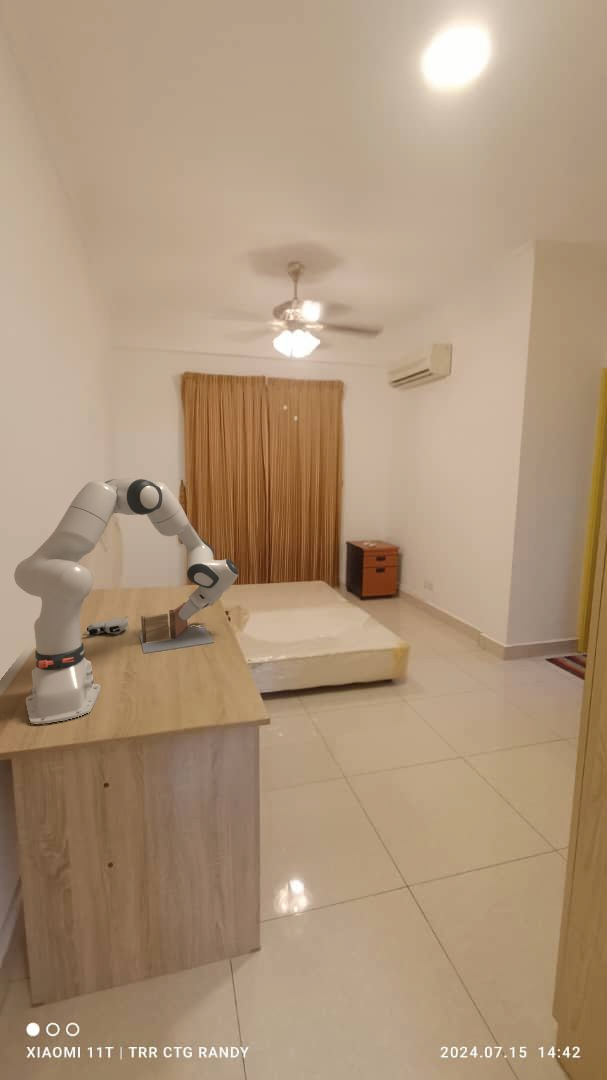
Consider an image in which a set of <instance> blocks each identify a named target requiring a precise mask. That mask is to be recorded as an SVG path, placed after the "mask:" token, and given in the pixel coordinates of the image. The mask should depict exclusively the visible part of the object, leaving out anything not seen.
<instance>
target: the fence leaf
mask: <svg viewBox="0 0 607 1080" xmlns="http://www.w3.org/2000/svg"><path fill="white" fill-rule="evenodd" d="M186 602H187V601H186ZM186 602H183V603H182V604H181V605H179V606H178V607H175V608H174V609H173V610H174V624H175V636H177V635H178V634H180V633H181V632H182V631H183V630H184V629H186V628H188V619H187V620H185V621H183V620H182V619H181V618H180V617H179V616H178V613H179V611H180V610H181V608H182V607H183V606H184V605H185V603H186Z"/></svg>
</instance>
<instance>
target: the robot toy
mask: <svg viewBox="0 0 607 1080" xmlns="http://www.w3.org/2000/svg"><path fill="white" fill-rule="evenodd" d="M128 618H129V616H124V617H123V616H120V617H115V618H111V619H109V620H107V621H106V622H105V621H96V622H93V623H91V624H89V625H88V626H87V627H86V631H85V632H84V635H85V636H88V635H90V636H92V635H95V636H96V635H100V634H104V633H105V632H106V633H108V634H113V635H119V634H120V633H121V632H124V631H125V630H126V629H127V628H128V627H129V621H128Z"/></svg>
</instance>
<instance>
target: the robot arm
mask: <svg viewBox="0 0 607 1080" xmlns="http://www.w3.org/2000/svg"><path fill="white" fill-rule="evenodd" d="M114 514H123V515H126V516H127V515H128V516H134V515H135V516H137V515H140V516H144V515H146V516H147V517H148V519H149V521H150V522H151V524H152V525H153V527H154V528H155V530H157V532H158V533H160V534H161V536H164V537H174V536H177V537H178V538H179V539H180V541H181V542H182V544H183V546H185V548H186V554H187V555H186V556H187V557H186V558H187V560H186V561H187V562H186V575H187V576H186V577H187V580H189V582H191V583H193V584H194V585H196V586H197V588H196V589H195V590H194V591H193V592H192V593H191V594H190V595H189V596H188V600H187V601H186V603H185V602H184V603H185V605H184V606H183V607H182V608H181V610H180V611H179V613H178V616H179V617H180V618H181V619H182V620H183V621H185V620H187V621H188V619H190V618H191V617H192V616H194V615H196V614H197V613H198V612H200V611H201V610H203V609H205V608H207V607H213V606H214V605H215V603H217V602H218V601H219V599H221V597H222V596H223V594H224V593H225V592H226V591H228V590H229V589H230V588H231V587H232V586H233V584H234V583H235V581H236V580H237V578H238V577H239V570H238V567H237V565H236V564H235V562H234V561H232V560H231V559H230V558H226V559H221V560H219V559H217V560H216V559H215V550H214V548H213V547H212V545H210V544H209V543H208V542H206V541H205V540H204V539H202V537H201V536H200V535H199V534H198V532H197V531H196V528H194V525H193V524H192V523H191V522H190V520H189V518H188V517H187V514H186V512H185V510H184V509H183V507H182V505H181V503H180V501H179V500H178V499H177V497H176V496H175V494H174V493H173V492H172V491H171V489H170V488H169V487H168V486H167V485H166V484H165V483H164V482H162V481H158V480H157V481H150V480H147V479H142V478H139V479H137V478H127V477H126V478H125V477H124V478H119V479H118V478H115V479H114V478H112V479H109V480H107V481H105V482H104V481H101V480H92V481H89V482H87V483H86V484H85V485H84V486H83V487H82V488H81V489H80V491H79V492H78V493H77V494H76V496H75V497H74V498H73V500H72V502H70V505H69V506H68V508H67V509H66V511H65V513H64V514H63V517H62V518H61V520H60V521H59V523H58V524H57V526H56V527H55V529H54V530H53V532H52V533H51V535H50V536H49V537H48V538H47V539H46V540H45V541H44V542H43V543H42V544H41V545H40V546H39V548H38V549H36V550H35V552H33V553H32V554H31V555H30V556H28V557H27V558H25V559H23V560H22V561H20V562H19V563H18V565H17V566H16V567H15V570H14V575H13V576H14V582H15V584H16V586H18V588H20V589H21V590H22V591H24V592H25V593H27V594H29V595H31V596H34V597H39V598H40V600H41V608H40V614H39V616H38V618H37V619H36V620H35V621H34V625H33V628H34V629H33V630H34V636H35V637H34V639H35V648H36V649H35V652H34V661H35V667H34V668H33V669H32V670H31V677H32V678H31V679H32V687H33V688H31V689H30V694H31V695H28V696H27V697H26V698H25V707H26V706H27V707H26V712H27V711H28V712H27V716H28V715H29V717H28V721H29V720H30V722H32V723H47V722H54V721H63V720H67V721H69V720H68V719H71V720H73V719H72V718H75V717H78V718H80V717H79V716H81V717H83V716H82V715H84V714H86V713H88V714H90V713H91V712H90V711H92V710H91V709H93V707H94V705H95V703H96V700H97V699H98V696H99V694H100V692H101V689H102V688H101V687H102V686H101V684H99V683H94V678H93V677H94V676H93V669H92V662H91V661H90V660H88V659H86V657H85V647H84V643H83V642H82V631H81V629H82V628H81V612H82V607H83V603H84V600H85V599H86V598H87V597H88V596H89V595H90V593H91V592H92V589H93V585H94V579H93V575H92V572H91V571H90V570H89V569H88V568H87V567H85V566H83V565H81V564H80V563H78V562H79V561H80V560H81V559H82V558H83V557H84V556H86V555H87V554H89V553H91V552H92V551H94V549H95V548H96V546H97V544H98V543H99V542H100V539H101V536H102V535H103V533H104V531H105V530H106V528H107V526H108V523H109V522H110V520H111V518H112V516H113V515H114ZM89 712H90V713H89ZM86 715H87V714H86ZM84 716H85V715H84ZM75 719H76V718H75ZM41 720H42V721H41ZM30 722H29V723H30ZM63 722H64V721H63Z"/></svg>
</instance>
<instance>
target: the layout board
mask: <svg viewBox="0 0 607 1080" xmlns="http://www.w3.org/2000/svg"><path fill="white" fill-rule="evenodd" d="M199 624H200V625H201V626H200V627H202V628H199V627H196V626H198V625H196V626H192V625H193V624H191V625H188V624H187V625H188V628H186V629H184V630H183V631H182V632H181V633H180V634H178V635H177V636H175V639H171V634H170V627H169V639H167V640H161V641H154V642H147V643H143V638H142V631H140V632H138V634H139V637H140V643H141V646H142V650H143V654H144V655H145V654H152V653H157V652H163V651H165V652H166V651H170V650H177V649H183V648H189V647H196V646H197V647H198V646H203V645H204V646H205V645H209V644H215V642H214V640H213V638H212V637H211V635H210V633H209V631H207V629H206V627H205V626H204V624H203V623H199ZM191 626H192V627H191Z"/></svg>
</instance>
